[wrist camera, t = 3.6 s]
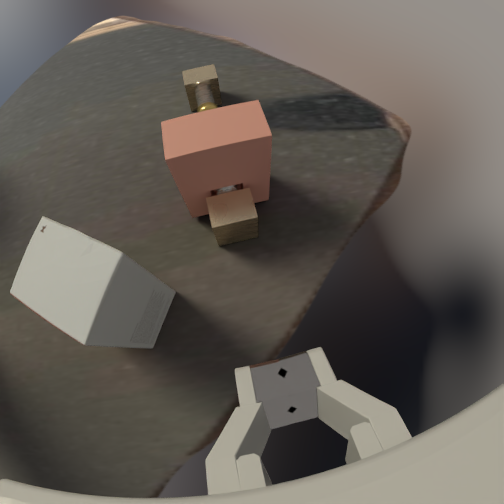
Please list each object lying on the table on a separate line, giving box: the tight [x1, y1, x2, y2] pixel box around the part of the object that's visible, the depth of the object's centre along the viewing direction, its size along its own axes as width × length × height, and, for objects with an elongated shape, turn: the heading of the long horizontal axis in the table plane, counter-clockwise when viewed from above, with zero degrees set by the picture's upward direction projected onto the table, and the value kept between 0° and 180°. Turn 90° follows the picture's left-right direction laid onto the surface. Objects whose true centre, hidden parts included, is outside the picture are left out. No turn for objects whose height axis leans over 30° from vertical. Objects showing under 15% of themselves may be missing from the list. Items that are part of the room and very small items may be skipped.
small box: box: [10, 216, 176, 349], centre depth 23 cm, size 8×6×13 cm
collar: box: [161, 100, 272, 218], centre depth 27 cm, size 4×8×10 cm, turn 104°
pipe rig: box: [182, 64, 258, 246], centre depth 32 cm, size 22×4×5 cm, turn 14°
